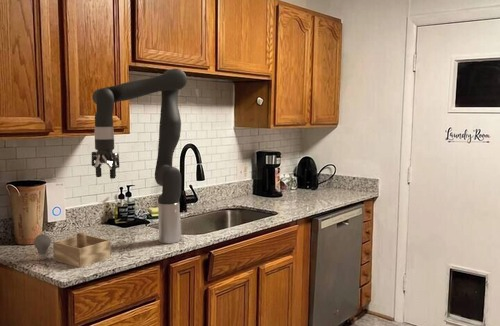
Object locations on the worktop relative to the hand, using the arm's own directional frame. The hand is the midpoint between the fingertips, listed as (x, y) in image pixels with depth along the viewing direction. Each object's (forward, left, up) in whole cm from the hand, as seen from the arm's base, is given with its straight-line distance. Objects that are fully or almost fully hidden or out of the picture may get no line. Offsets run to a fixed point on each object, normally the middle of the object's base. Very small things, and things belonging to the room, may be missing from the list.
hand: (105, 177), depth 195 cm
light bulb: (+23, -10, -30) cm, 39 cm away
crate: (+14, +2, -30) cm, 33 cm away
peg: (+14, +2, -30) cm, 33 cm away
